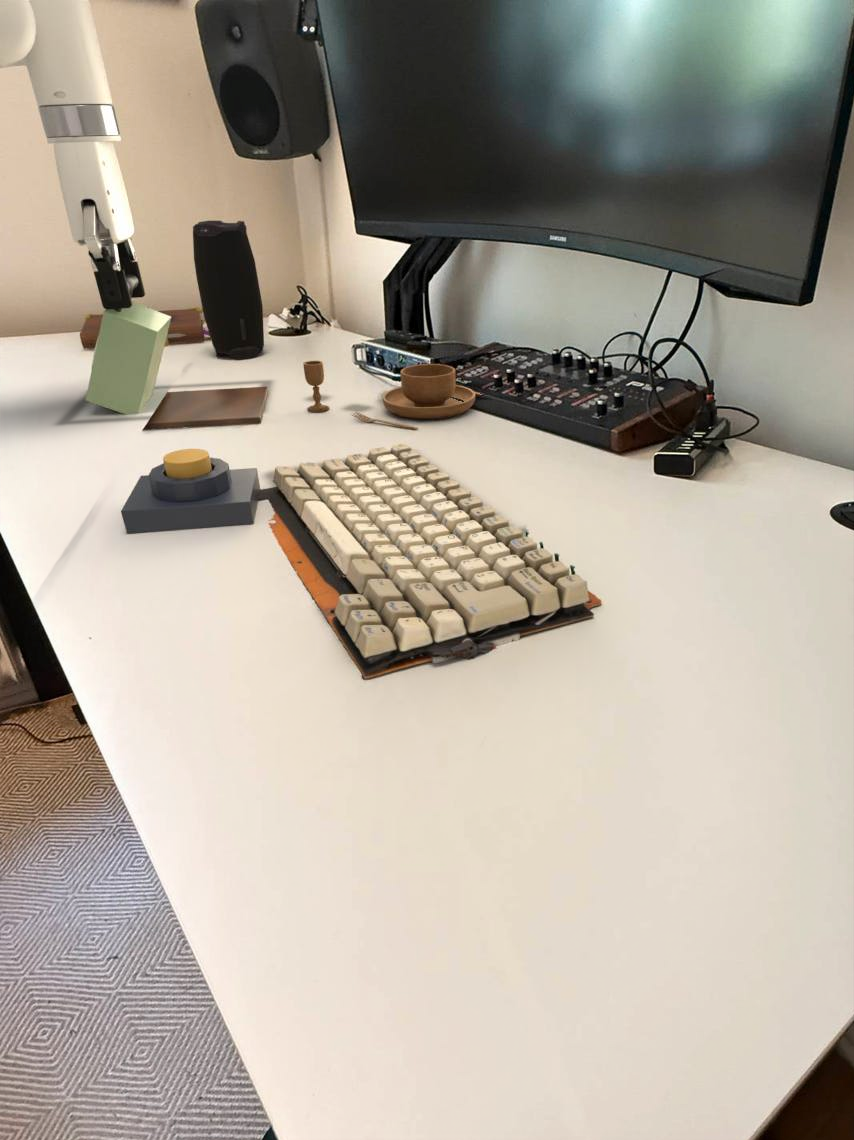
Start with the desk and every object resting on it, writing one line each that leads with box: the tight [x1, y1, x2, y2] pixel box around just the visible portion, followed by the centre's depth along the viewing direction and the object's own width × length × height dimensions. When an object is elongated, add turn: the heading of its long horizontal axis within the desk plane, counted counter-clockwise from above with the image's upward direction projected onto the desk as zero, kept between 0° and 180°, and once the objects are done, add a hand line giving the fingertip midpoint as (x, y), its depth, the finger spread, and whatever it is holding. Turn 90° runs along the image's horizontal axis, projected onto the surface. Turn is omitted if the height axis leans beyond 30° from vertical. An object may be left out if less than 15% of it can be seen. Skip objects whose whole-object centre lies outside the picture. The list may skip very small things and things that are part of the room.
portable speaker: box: [192, 220, 265, 361], centre depth 127 cm, size 9×9×20 cm
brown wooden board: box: [142, 386, 269, 431], centre depth 104 cm, size 23×15×1 cm, turn 99°
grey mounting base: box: [120, 457, 261, 535], centre depth 74 cm, size 11×9×4 cm
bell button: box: [162, 448, 212, 479], centre depth 73 cm, size 4×4×2 cm
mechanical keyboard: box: [258, 443, 602, 679], centre depth 68 cm, size 38×19×3 cm, turn 26°
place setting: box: [302, 360, 483, 430], centre depth 103 cm, size 18×20×6 cm
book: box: [79, 306, 210, 350], centre depth 144 cm, size 16×25×5 cm, turn 107°
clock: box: [85, 274, 171, 415], centre depth 99 cm, size 6×10×15 cm, turn 9°
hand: (125, 301), depth 96 cm, fingers closed on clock, 6 cm apart
